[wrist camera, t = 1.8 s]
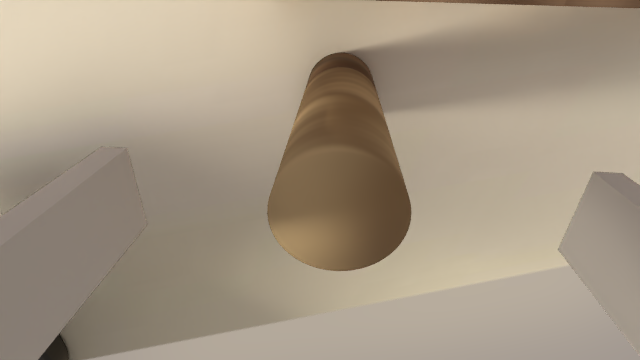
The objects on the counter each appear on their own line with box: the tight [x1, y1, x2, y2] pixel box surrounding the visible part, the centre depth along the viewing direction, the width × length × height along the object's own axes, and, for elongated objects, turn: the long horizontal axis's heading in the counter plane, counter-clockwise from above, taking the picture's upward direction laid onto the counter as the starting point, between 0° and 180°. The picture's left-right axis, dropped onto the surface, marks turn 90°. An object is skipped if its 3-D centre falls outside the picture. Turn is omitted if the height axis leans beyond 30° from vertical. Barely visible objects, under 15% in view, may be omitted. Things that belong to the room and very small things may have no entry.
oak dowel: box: [267, 53, 411, 271], centre depth 16 cm, size 4×4×14 cm
